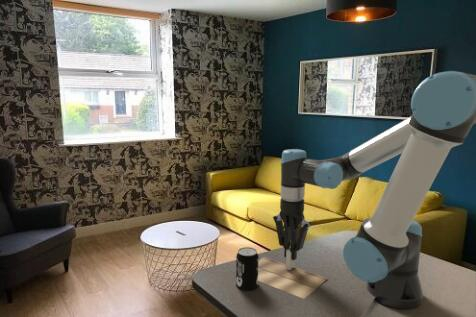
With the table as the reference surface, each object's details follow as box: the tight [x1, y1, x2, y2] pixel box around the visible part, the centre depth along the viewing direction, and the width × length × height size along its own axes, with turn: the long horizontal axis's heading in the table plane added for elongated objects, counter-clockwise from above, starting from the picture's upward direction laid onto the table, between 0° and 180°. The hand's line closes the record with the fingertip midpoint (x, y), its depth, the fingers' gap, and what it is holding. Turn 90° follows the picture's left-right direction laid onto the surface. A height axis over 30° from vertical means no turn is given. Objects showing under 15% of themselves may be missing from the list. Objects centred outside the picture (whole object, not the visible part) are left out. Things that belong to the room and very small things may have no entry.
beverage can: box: [235, 246, 260, 292], centre depth 107 cm, size 7×7×12 cm
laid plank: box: [258, 268, 317, 300], centre depth 111 cm, size 24×7×1 cm, turn 51°
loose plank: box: [258, 256, 328, 290], centre depth 116 cm, size 24×7×1 cm, turn 51°
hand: (290, 267), depth 118 cm, fingers closed
